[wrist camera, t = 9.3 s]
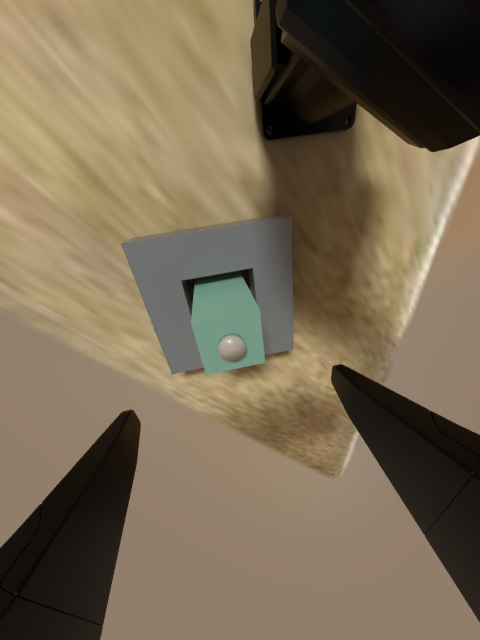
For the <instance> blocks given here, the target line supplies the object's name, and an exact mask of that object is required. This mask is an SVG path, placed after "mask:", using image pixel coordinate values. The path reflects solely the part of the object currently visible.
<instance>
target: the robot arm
mask: <svg viewBox="0 0 480 640" xmlns="http://www.w3.org/2000/svg"><path fill="white" fill-rule="evenodd" d="M254 20H255V27H254V30H253V34H252V37H251V42H250V43H251V57H252V72H253V86H254V98H255V100H256V101H257V102H260V116H261V133H262V137H263V138H264V140H266V141H275V140H282V139H290V138H297V137H304V136H312V135H319V134H327V133H334V132H342V131H346V130H348V129H350V128H351V127H352V126H353V124H354V121H355V114H356V104H359V105H360V106H361V107H362V108H364V109H365V110H366V111H367V112H369V113H370V114H371V115H372V116H374V117H375V118H376V119H377V120H379V121H380V122H381V123H382V124H384V125H385V126H386V127H387V128H389V129H390V130H391V131H392V132H394V133H395V134H396V135H397V136H399V137H400V138H401V139H402V140H404V141H405V142H406V143H407V144H410V145H413V146H416V147H419V148H426V149H428V150H429V151H430V152H436V151H440V150H444V149H449V148H452V147H454V146H457V145H459V144H461V143H464V142H466V141H468V140H471V139H473V138H475V137H477V136H480V0H262V4H261V3H260V0H254ZM346 117H347V118H348V124H347V125H346V124H345V121H344V120H345V118H346ZM267 127H270V128H271V129H272V135H268V134H267V131H266V130H267ZM331 382H332V384H333V386H334V388H335V390H336V392H337V394H338V396H339V398H340V400H341V402H342V404H343V406H344V408H345V410H346V412H347V414H348V416H349V417H350V419H351V421H352V422H353V424H354V425H355V427H356V429H357V430H358V432H359V433H360V435H361V436H362V438H363V439H364V441H365V443H366V444H367V446H368V447H369V449H370V450H371V452H372V454H373V455H374V457H375V458H376V460H377V461H378V463H379V465H380V466H381V468H382V469H383V471H384V472H385V474H386V476H387V477H388V479H389V480H390V482H391V484H392V485H393V487H394V488H395V490H396V491H397V493H398V494H399V496H400V498H401V499H402V501H403V502H404V504H405V506H406V507H407V509H408V510H409V512H410V513H411V515H412V516H413V518H414V520H415V521H416V523H417V524H418V526H419V527H420V529H421V531H422V532H423V534H425V537H426V539H427V540H428V542H429V543H430V545H431V547H432V548H433V550H434V551H435V553H436V554H437V556H438V558H439V559H440V561H441V562H442V564H443V565H444V567H445V569H446V570H447V572H448V573H449V575H450V576H451V578H452V579H453V581H454V582H455V584H456V586H457V587H458V589H459V590H460V592H461V594H462V595H463V597H464V598H465V600H466V601H467V603H468V605H469V606H470V608H471V609H472V611H473V613H474V614H475V615H476V617H477V619H478V620H479V622H480V435H479V434H477V433H475V432H472V431H470V430H468V429H466V428H464V427H462V426H460V425H458V424H456V423H454V422H452V421H450V420H448V419H446V418H444V417H442V416H440V415H438V414H436V413H434V412H432V411H429V410H428V409H427V408H425V407H423V406H421V405H419V404H417V403H415V402H413V401H411V400H409V399H407V398H406V397H404V396H402V395H400V394H398V393H396V392H394V391H392V390H390V389H388V388H386V387H385V386H383V385H381V384H379V383H377V382H375V381H373V380H371V379H369V378H367V377H365V376H364V375H362V374H360V373H358V372H356V371H354V370H352V369H350V368H348V367H346V366H344V365H342V364H340V365H335V366H333V367H332V375H331ZM140 427H141V424H140V421H139V419H138V417H137V415H136V413H135V412H134V411H133V410H127V411H124V412H122V413H120V415H119V416H118V417H117V418H116V419H115V420H114V422H113V423H112V424H111V425H110V426H109V427H108V428H107V429H106V430H105V432H104V433H103V434H102V435H101V436H100V437H99V438H98V439H97V441H96V442H95V443H94V444H93V445H92V446H91V448H90V449H89V450H88V451H87V452H86V453H85V454H84V455H83V457H82V458H81V459H80V460H79V461H78V462H77V463H76V464H75V466H74V467H73V468H72V469H71V470H70V471H69V472H68V474H66V476H65V477H64V478H63V479H62V480H61V481H60V482H59V484H58V485H57V486H56V487H55V488H54V489H53V490H52V492H51V493H50V494H49V495H48V496H47V497H46V498H45V499H44V501H43V502H42V504H40V505H39V506H38V507H37V508H36V509H35V511H34V512H33V513H32V514H31V515H30V516H29V517H28V518H27V520H26V521H25V522H24V523H23V524H22V525H21V526H20V527H19V528H18V530H17V531H16V532H15V533H14V534H13V535H12V536H11V537H10V538H9V539H8V540H7V541H6V542H5V543H4V545H3V546H2V547H1V548H0V640H100V637H101V633H102V628H103V626H102V625H103V623H104V618H105V613H106V608H107V604H108V599H109V594H110V589H111V584H112V580H113V575H114V570H115V565H116V560H117V556H118V551H119V546H120V541H121V536H122V531H123V527H124V522H125V517H126V513H127V508H128V503H129V499H130V493H131V489H132V484H133V479H134V474H135V470H136V464H137V457H138V447H139V438H140V437H139V436H140Z"/></svg>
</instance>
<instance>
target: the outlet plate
mask: <svg viewBox="0 0 480 640" xmlns="http://www.w3.org/2000/svg"><path fill="white" fill-rule="evenodd" d="M121 245H122V247H123V250H124V252H125V255H126V258H127V260H128V263H129V265H130V268H131V270H132V273H133V276H134V278H135V281H136V283H137V286H138V288H139V291H140V293H141V296H142V299H143V301H144V304H145V306H146V309H147V311H148V314H149V317H150V319H151V322H152V324H153V327H154V329H155V332H156V334H157V337H158V340H159V342H160V345H161V347H162V350H163V352H164V355H165V358H166V360H167V363H168V365H169V368H170V370H171V373H172V374H176V373H181V372H186V371H190V370H195V369H200V368H204V367H203V363H202V360H201V356H200V353H199V350H198V346H197V343H196V339H195V336H194V332H193V329H192V325H191V316H192V306H193V305H192V301H191V298H190V294H189V290H188V286H187V283H186V280H187V279H193V278H199V277H205V276H210V275H216V274H222V273H227V272H233V271H239V270H244V269H248V273H249V281H250V290H251V294H252V296H253V297H254V299H255V301H256V303H257V305H258V307H259V309H260V313H261V324H262V334H263V344H264V355H268V354H273V353H278V352H283V351H288V350H293V257H292V216H286V215H276V216H270V217H263V218H257V219H251V220H245V221H238V222H232V223H226V224H219V225H213V226H207V227H201V228H194V229H188V230H182V231H176V232H169V233H163V234H157V235H150V236H144V237H138V238H132V239H130V240H128V241H126V242H124V243H122V244H121Z"/></svg>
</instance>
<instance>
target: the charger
mask: <svg viewBox="0 0 480 640" xmlns="http://www.w3.org/2000/svg"><path fill="white" fill-rule="evenodd" d="M191 325H192V329H193V332H194V336H195V339H196V343H197V346H198V350H199V353H200V356H201V360H202V363H203V367H204V370H205V374H206V375H209V374H214V373H218V372H223V371H228V370H233V369H238V368H242V367H247V366H252V365H257V364H262V363H265V355H264V344H263V334H262V324H261V313H260V309H259V307H258V305H257V303H256V301H255V299H254V297H253V296H252V294H251V292H250V290H249V288H248V286H247V284H246V282H245V281H244V279H243V277H242V275H241V273H240V271H237V272H231V273H225V274H220V275H214V276H208V277H203V278H197V279H195V285H194V295H193V306H192V316H191Z"/></svg>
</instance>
